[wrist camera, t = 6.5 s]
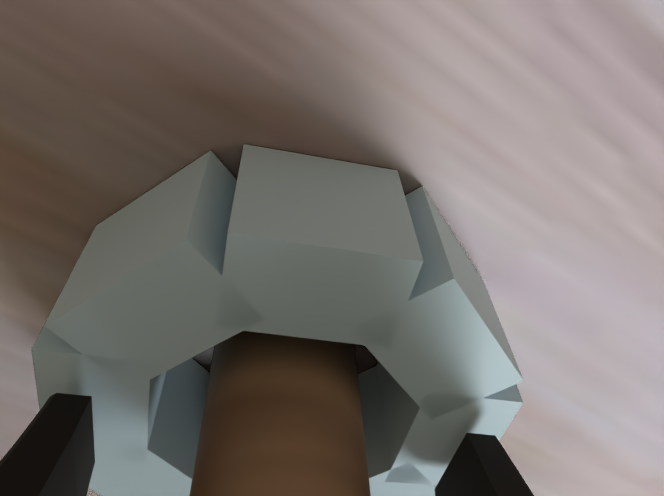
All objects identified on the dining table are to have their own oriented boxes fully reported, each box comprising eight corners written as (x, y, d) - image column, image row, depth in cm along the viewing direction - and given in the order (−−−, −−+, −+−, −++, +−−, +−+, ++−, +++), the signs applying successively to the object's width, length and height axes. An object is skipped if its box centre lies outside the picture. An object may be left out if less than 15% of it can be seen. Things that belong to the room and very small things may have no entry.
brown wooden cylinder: (339, 370, 15) (362, 697, 9) (216, 360, 14) (162, 697, 9) (363, 277, 13) (411, 615, 7) (223, 262, 13) (161, 608, 7)
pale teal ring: (410, 451, 17) (428, 552, 15) (93, 422, 16) (55, 530, 13) (536, 194, 12) (595, 286, 10) (78, 115, 10) (11, 200, 8)
